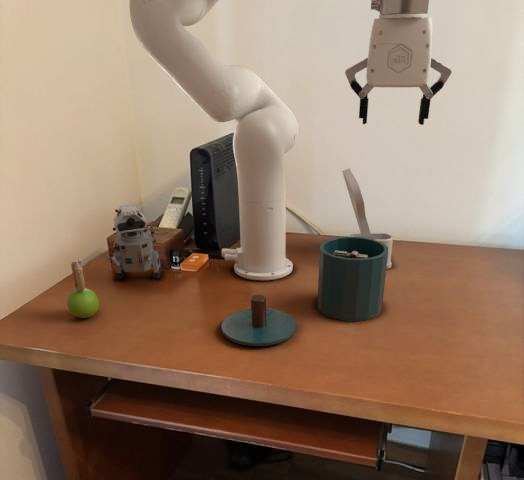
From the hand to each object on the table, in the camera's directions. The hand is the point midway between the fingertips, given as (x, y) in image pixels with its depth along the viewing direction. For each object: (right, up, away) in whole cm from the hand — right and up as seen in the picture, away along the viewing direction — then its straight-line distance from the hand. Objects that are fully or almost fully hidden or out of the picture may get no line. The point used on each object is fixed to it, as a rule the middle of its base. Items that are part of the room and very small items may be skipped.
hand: (392, 123), depth 96 cm
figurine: (-49, -25, +19) cm, 58 cm away
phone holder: (0, -18, +29) cm, 35 cm away
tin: (-7, -32, +6) cm, 33 cm away
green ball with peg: (-55, -34, +4) cm, 65 cm away
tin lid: (-23, -36, -1) cm, 43 cm away
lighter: (-7, -31, +7) cm, 32 cm away
